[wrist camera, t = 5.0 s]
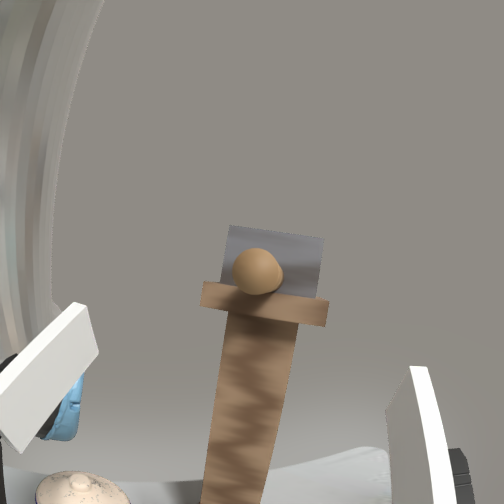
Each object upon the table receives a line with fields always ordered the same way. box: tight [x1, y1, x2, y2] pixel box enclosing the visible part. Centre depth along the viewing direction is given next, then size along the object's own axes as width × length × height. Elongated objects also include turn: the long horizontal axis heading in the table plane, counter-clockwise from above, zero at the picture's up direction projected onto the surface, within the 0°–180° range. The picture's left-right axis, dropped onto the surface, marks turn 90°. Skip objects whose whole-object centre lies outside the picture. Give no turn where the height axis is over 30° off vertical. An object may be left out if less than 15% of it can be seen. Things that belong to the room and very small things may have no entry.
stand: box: [199, 281, 329, 504], centre depth 28 cm, size 10×10×30 cm
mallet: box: [220, 225, 324, 299], centre depth 24 cm, size 15×8×5 cm, turn 173°
